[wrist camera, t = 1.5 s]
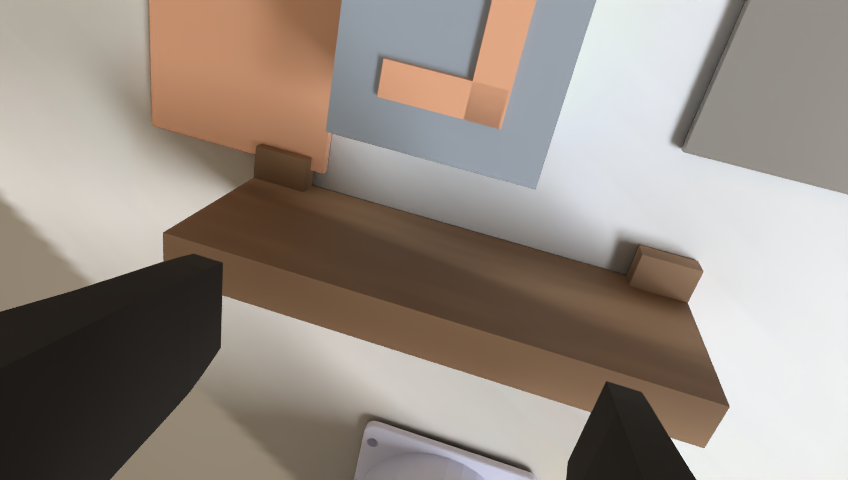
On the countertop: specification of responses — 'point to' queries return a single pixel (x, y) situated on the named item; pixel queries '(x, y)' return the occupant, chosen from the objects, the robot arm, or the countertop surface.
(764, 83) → the grey slate tile
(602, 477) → the robot arm
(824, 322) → the countertop surface
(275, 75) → the terracotta tile
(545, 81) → the lettered cube
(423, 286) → the walnut screen
